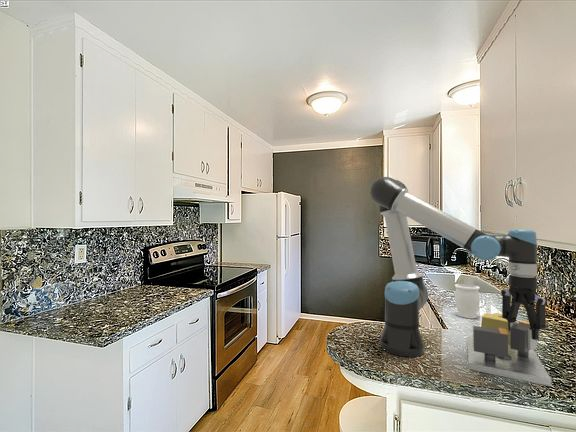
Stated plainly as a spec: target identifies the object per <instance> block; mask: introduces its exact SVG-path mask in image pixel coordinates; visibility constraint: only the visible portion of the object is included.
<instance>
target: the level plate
mask: <svg viewBox="0 0 576 432" xmlns="http://www.w3.org/2000/svg"><path fill="white" fill-rule="evenodd" d="M466 347H467V348H466V350H467V351H466V352H467V361H468V362H467V363H468V369H469V370H470V371H475V372H480V373H485V374H490V375H493V376H498V377H499V376H501V377H504V378H509V379H513V380H517V381H522V382H527V383H528V382H529V383H533V384H537V385H541V386H547V387H552V378H551V376H550V375H549V373H548V372H547V370H546V368H545V367H544V365H543V363H542V362H541V360H540V358H539V357H538V354H537V353H536V351H535V349H531V350H529V357H523V356H520V355H518V354H517V350H514V349H511V348H510V345H508V357H503V356H497V355H496V361H495V362H490V361H487V360H485V359H484V353H481V352H476V351H474V348H473V337H472V338H471V337H467V338H466Z"/></svg>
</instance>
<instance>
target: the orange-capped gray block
mask: <svg viewBox="0 0 576 432" xmlns="http://www.w3.org/2000/svg"><path fill="white" fill-rule="evenodd" d="M517 323H518V324H516V325H514V326H512V327H510V348H511V349H514V350H517V354H518V355H520V356H523V357H529V350H530V349H528V328H530V324H529V321H525V320H519V321H518V322H517Z"/></svg>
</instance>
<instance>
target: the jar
mask: <svg viewBox="0 0 576 432" xmlns="http://www.w3.org/2000/svg"><path fill="white" fill-rule="evenodd" d="M454 287H455V292H454V302H455V307H456V310H457V311H458V312H457V313H456V315H457V317H458V316H459V317H460V318H465V319H477V318H478V315H477V313H478V311H479V305H480V292H479V290H480V286H478V285H475V284H469V283H456V284H454Z"/></svg>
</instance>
